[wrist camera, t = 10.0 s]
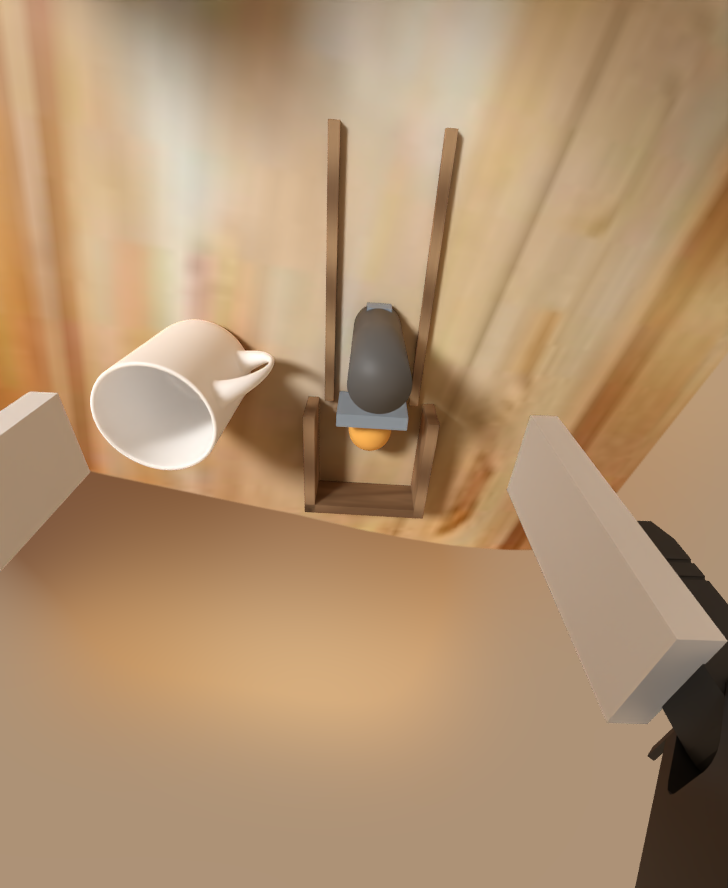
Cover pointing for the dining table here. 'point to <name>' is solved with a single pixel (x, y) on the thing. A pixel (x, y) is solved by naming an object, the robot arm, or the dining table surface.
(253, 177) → the dining table surface
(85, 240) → the dining table surface
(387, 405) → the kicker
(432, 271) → the lane
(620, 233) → the dining table surface
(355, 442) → the ball
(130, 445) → the mug
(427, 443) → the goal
